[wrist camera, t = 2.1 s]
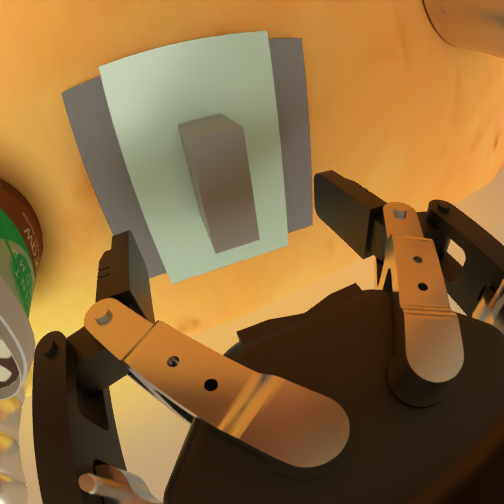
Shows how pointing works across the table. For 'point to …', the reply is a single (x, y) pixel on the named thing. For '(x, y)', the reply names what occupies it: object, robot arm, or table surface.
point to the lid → (202, 148)
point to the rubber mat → (116, 174)
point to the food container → (16, 286)
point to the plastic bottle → (11, 451)
